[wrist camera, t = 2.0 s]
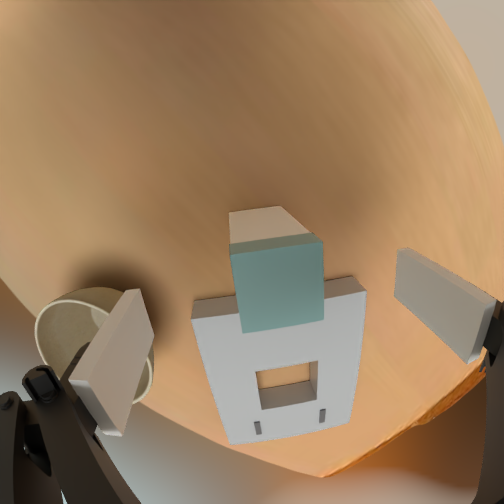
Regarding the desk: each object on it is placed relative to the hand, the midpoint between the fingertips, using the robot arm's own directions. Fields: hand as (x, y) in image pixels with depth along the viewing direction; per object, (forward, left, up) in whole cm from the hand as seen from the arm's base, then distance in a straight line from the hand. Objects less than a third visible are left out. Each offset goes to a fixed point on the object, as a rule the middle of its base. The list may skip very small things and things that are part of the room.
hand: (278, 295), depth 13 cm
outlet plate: (+14, +1, -10) cm, 17 cm away
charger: (0, 0, -10) cm, 10 cm away
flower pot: (+5, -14, -10) cm, 17 cm away
